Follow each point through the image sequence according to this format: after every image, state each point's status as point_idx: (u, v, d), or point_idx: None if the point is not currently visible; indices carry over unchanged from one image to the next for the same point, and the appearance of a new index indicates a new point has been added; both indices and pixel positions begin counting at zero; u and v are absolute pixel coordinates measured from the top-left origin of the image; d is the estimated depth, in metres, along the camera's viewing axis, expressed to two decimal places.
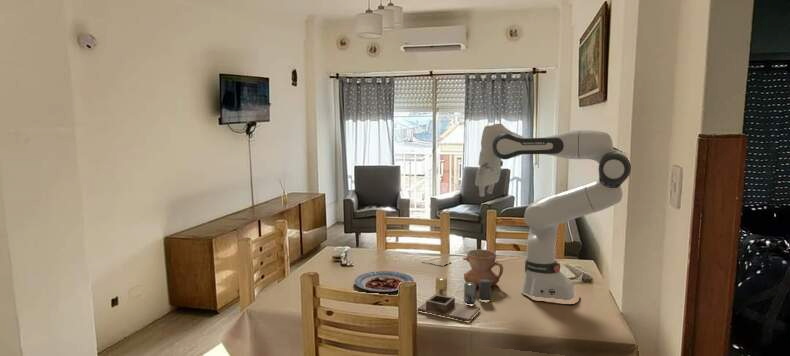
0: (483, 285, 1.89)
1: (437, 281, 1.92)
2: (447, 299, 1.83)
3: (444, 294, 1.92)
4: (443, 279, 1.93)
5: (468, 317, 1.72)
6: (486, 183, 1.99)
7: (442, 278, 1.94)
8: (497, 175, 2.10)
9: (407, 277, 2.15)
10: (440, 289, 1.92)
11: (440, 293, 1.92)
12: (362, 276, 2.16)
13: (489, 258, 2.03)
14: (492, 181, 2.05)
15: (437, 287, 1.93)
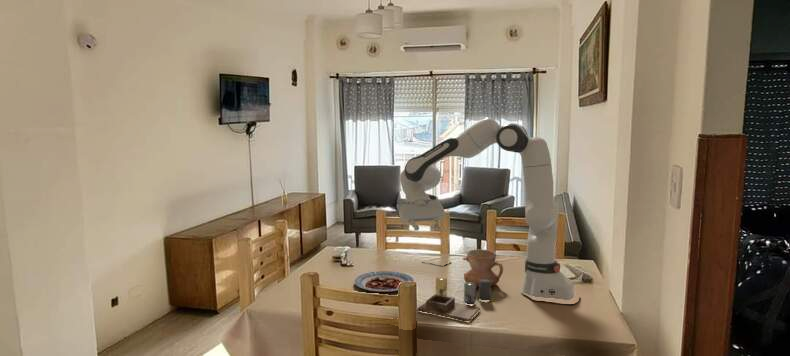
0: (483, 285, 1.89)
1: (437, 281, 1.92)
2: (447, 299, 1.83)
3: (444, 294, 1.92)
4: (443, 279, 1.93)
5: (468, 317, 1.72)
6: (412, 216, 2.02)
7: (442, 278, 1.94)
8: (437, 209, 2.09)
9: (407, 277, 2.15)
10: (440, 289, 1.92)
11: (440, 293, 1.92)
12: (362, 276, 2.16)
13: (489, 258, 2.03)
14: (426, 214, 2.05)
15: (437, 287, 1.93)
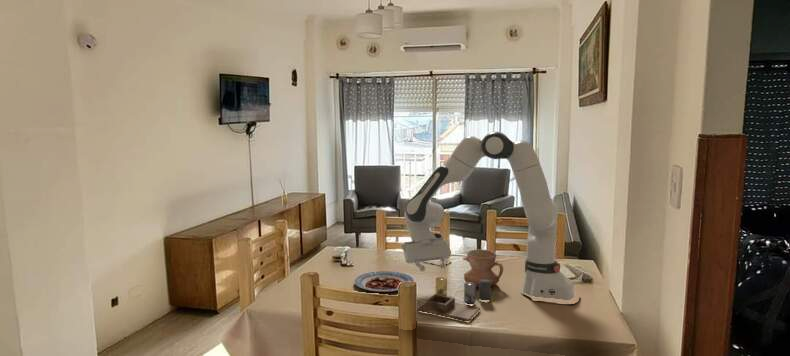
0: (483, 285, 1.89)
1: (437, 281, 1.92)
2: (447, 299, 1.83)
3: (444, 294, 1.92)
4: (443, 279, 1.93)
5: (468, 317, 1.72)
6: (418, 256, 1.99)
7: (442, 278, 1.94)
8: (443, 248, 2.05)
9: (407, 277, 2.15)
10: (440, 289, 1.92)
11: (440, 293, 1.92)
12: (362, 276, 2.16)
13: (489, 258, 2.03)
14: (432, 253, 2.02)
15: (437, 287, 1.93)
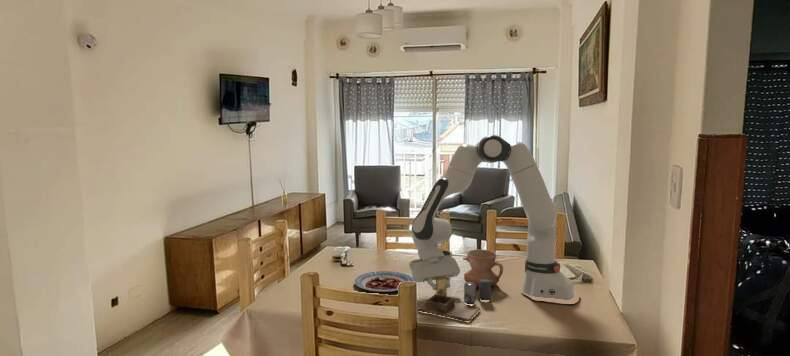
0: (483, 285, 1.89)
1: (437, 281, 1.92)
2: (447, 299, 1.83)
3: (444, 294, 1.92)
4: (443, 279, 1.93)
5: (468, 317, 1.72)
6: (426, 275, 1.93)
7: (442, 278, 1.94)
8: (452, 266, 1.99)
9: (407, 277, 2.15)
10: (440, 289, 1.92)
11: (440, 293, 1.92)
12: (362, 276, 2.16)
13: (489, 258, 2.03)
14: (441, 272, 1.96)
15: None
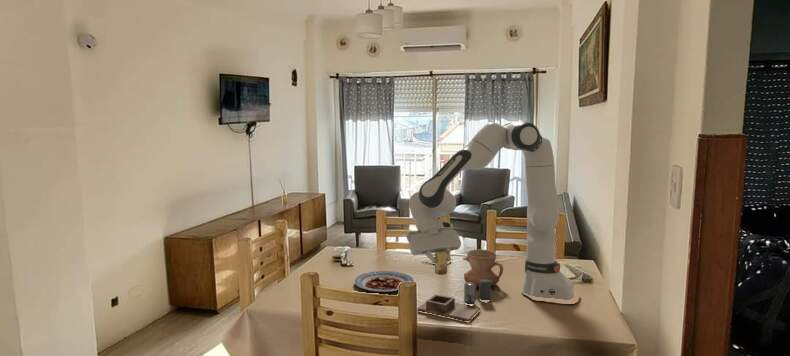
0: (483, 285, 1.89)
1: (436, 254, 1.78)
2: (447, 299, 1.83)
3: (444, 268, 1.78)
4: (443, 252, 1.78)
5: (468, 317, 1.72)
6: (424, 247, 1.78)
7: (442, 251, 1.80)
8: (452, 238, 1.85)
9: (407, 277, 2.15)
10: (439, 262, 1.77)
11: (440, 267, 1.78)
12: (362, 276, 2.16)
13: (489, 258, 2.03)
14: (440, 244, 1.81)
15: None
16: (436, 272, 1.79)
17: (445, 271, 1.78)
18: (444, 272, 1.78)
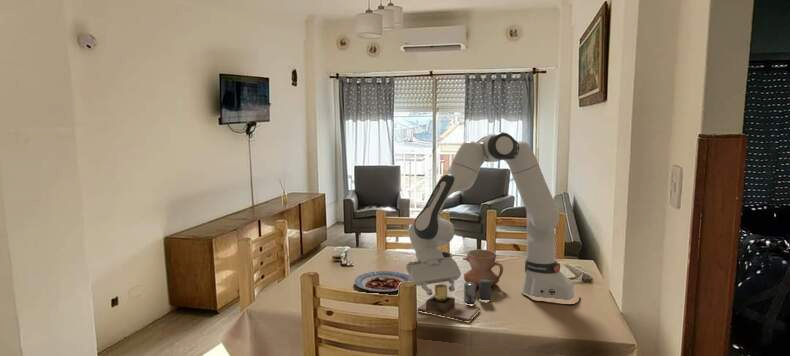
0: (483, 285, 1.89)
1: (436, 289, 1.79)
2: (447, 299, 1.83)
3: (444, 303, 1.79)
4: (443, 287, 1.80)
5: (468, 317, 1.72)
6: (424, 278, 1.80)
7: (442, 285, 1.81)
8: (452, 268, 1.86)
9: (407, 277, 2.15)
10: (439, 297, 1.79)
11: (439, 301, 1.79)
12: (362, 276, 2.16)
13: (489, 258, 2.03)
14: (440, 275, 1.83)
15: (436, 295, 1.80)
16: None
17: None
18: None
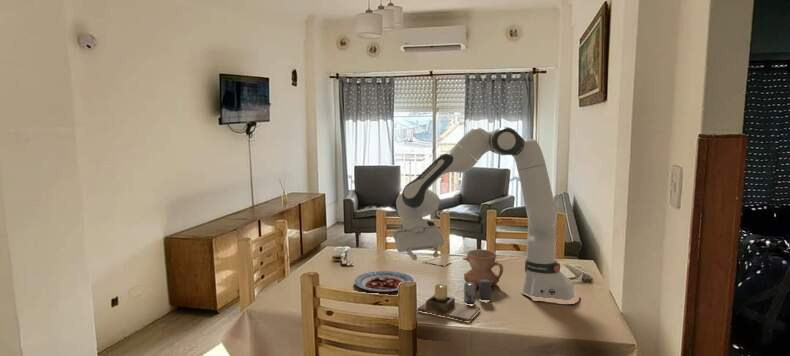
0: (483, 285, 1.89)
1: (436, 289, 1.79)
2: (447, 299, 1.83)
3: (444, 303, 1.79)
4: (443, 287, 1.80)
5: (468, 317, 1.72)
6: (409, 245, 1.90)
7: (442, 285, 1.81)
8: (436, 236, 1.96)
9: (407, 277, 2.15)
10: (439, 297, 1.79)
11: (439, 301, 1.79)
12: (362, 276, 2.16)
13: (489, 258, 2.03)
14: (425, 242, 1.93)
15: (436, 295, 1.80)
16: None
17: None
18: None
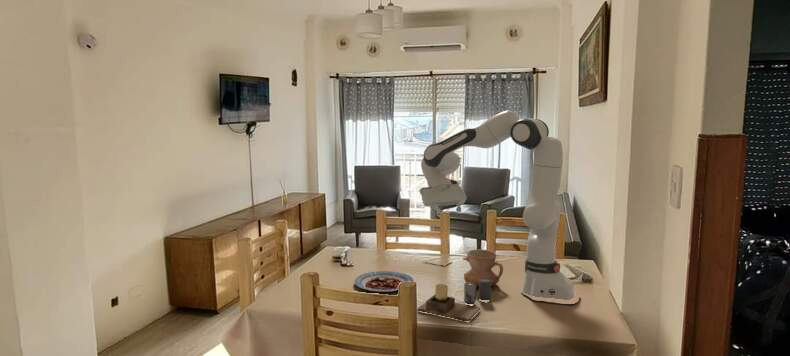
0: (483, 285, 1.89)
1: (437, 288, 1.80)
2: (447, 299, 1.83)
3: (444, 302, 1.79)
4: (444, 286, 1.80)
5: (468, 317, 1.72)
6: (435, 200, 2.09)
7: (443, 285, 1.81)
8: (459, 193, 2.15)
9: (407, 277, 2.15)
10: (439, 297, 1.79)
11: (439, 301, 1.79)
12: (362, 276, 2.16)
13: (489, 258, 2.03)
14: (449, 198, 2.12)
15: (436, 294, 1.80)
16: None
17: None
18: None
